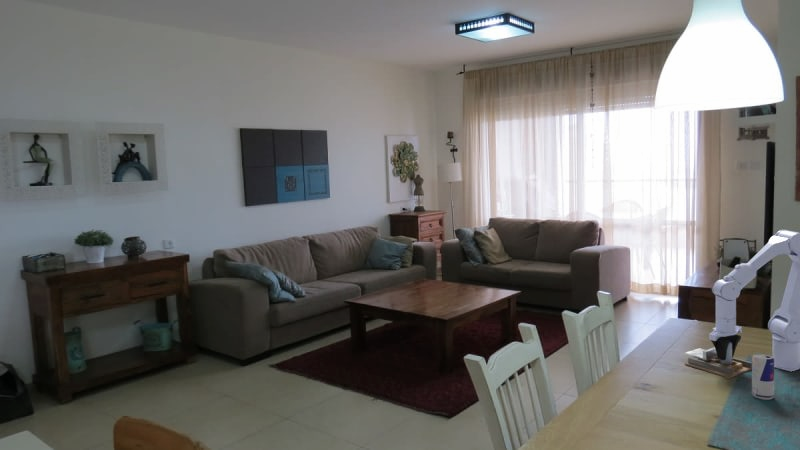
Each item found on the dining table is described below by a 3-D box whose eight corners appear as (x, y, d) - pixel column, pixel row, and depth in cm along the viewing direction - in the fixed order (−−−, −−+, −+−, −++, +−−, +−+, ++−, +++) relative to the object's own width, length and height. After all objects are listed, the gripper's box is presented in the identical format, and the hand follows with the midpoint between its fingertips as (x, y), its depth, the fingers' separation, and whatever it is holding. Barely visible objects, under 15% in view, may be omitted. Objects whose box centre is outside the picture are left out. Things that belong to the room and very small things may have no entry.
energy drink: (777, 400, 163) (777, 359, 162) (756, 400, 164) (756, 358, 163) (769, 393, 168) (769, 352, 167) (748, 392, 169) (749, 352, 168)
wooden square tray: (711, 356, 201) (711, 350, 201) (755, 368, 188) (755, 361, 187) (685, 365, 194) (685, 358, 194) (729, 378, 181) (729, 371, 181)
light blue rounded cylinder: (724, 361, 191) (724, 340, 191) (734, 364, 188) (734, 343, 187) (717, 363, 190) (716, 342, 189) (727, 366, 187) (727, 345, 186)
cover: (698, 349, 201) (698, 341, 201) (721, 355, 194) (721, 347, 194) (684, 354, 197) (684, 346, 197) (706, 360, 191) (706, 351, 190)
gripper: (727, 311, 194) (727, 350, 196) (700, 318, 187) (700, 359, 189) (748, 315, 188) (748, 355, 190) (721, 323, 181) (721, 365, 183)
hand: (725, 357), depth 189 cm, fingers closed on light blue rounded cylinder, 4 cm apart
